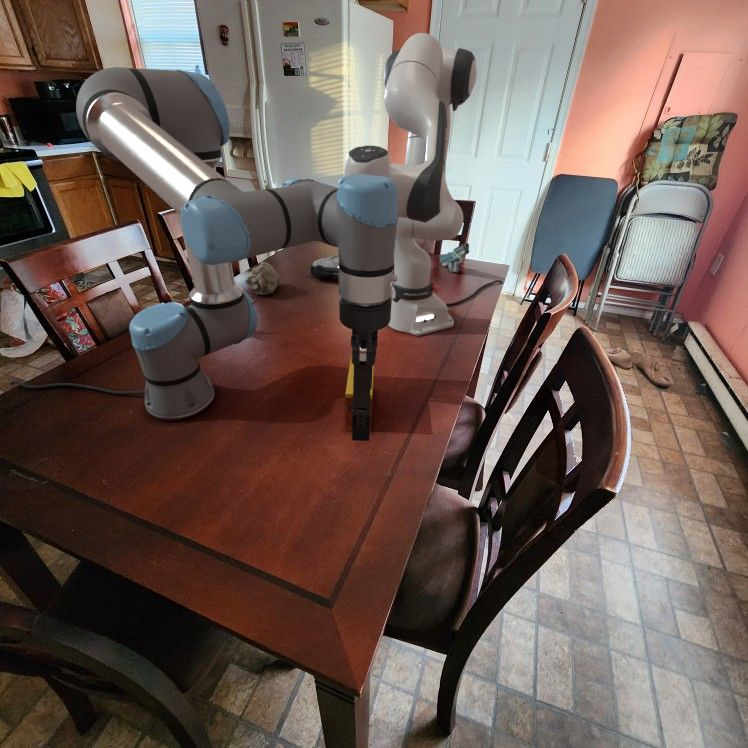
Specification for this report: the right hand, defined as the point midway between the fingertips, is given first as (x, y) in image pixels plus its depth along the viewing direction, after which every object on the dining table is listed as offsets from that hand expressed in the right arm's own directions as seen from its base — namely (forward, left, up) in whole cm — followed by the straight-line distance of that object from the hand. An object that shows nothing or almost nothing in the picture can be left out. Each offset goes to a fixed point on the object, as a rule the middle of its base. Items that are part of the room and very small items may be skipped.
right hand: (363, 305), depth 89 cm
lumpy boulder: (+15, -71, -25) cm, 77 cm away
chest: (+2, +5, -25) cm, 25 cm away
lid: (+2, +4, -16) cm, 16 cm away
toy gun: (-64, -73, -25) cm, 100 cm away
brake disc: (-20, -82, -25) cm, 89 cm away
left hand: (+8, +26, -7) cm, 28 cm away
